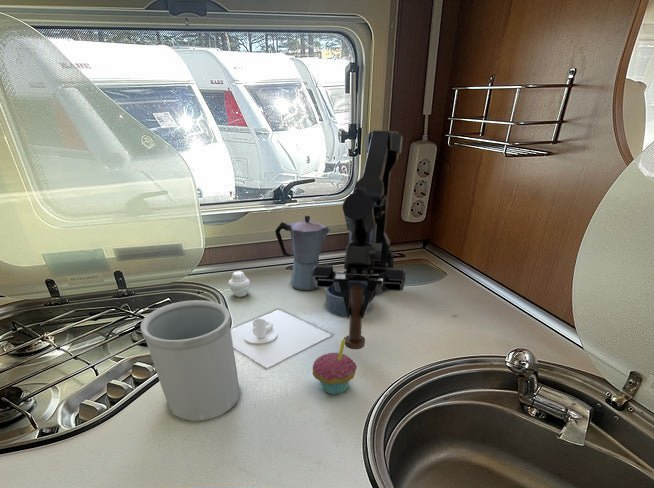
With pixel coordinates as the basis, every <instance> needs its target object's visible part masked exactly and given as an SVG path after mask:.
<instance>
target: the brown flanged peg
mask: <svg viewBox="0 0 654 488" xmlns="http://www.w3.org/2000/svg"><path fill="white" fill-rule="evenodd" d="M362 307H363V287H362V286H359V285H354V286H351V288H350V316H349V318H348V320H349V321H348V323H349V324H348V335H346V336H344V337H345V339H344V340H345V344H344V347H345V348H348V349H350V350H360V349H363V348H364V347H365V345H366V338H365V337H364V335H362V329H363V328H362V327H363V319H362V318H361V315H362Z"/></svg>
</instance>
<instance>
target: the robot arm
mask: <svg viewBox="0 0 654 488" xmlns="http://www.w3.org/2000/svg"><path fill="white" fill-rule="evenodd" d="M403 139H404V137H403V136H402V134H400V133H399V131H390V130H385V129H384V130H382V129H381V130H379V129H376V130H375V129H373V130H372V131H369V133H367V134H366V135H365V149H364V152H365V153H366V159H365V163H364V169H363V173H362V176H361V178H360V179H358V180H357V181H356V182H355V183H354V185H353V189H352V191H351V193H349V195H348V196H347V197H346V198H345V200H344V201H343V203H342V212H343V214H344V215H343V216H344V220H345V224H346V227H347V230H348V240H347V246H346V247H345V256H344V265H343V268H344V270H345V271H343V270H335V271H334V267H333V265H330V264H319V265H316V266H315V267H314V268H313V272H312V278H313V281H314V284H315V286H316V287H318V288H324V289H326V288H330V287H331V286H332V285H334V287H335V291H337V292H340V293H341V296H342V298H343V301H344V304H345V309H346V314H347V316H346V317H347V319H349V317H350V298H349V285H348V284H349V282H363V283H367V287H366V293H365V298H364V302H363V307H362V315H361V318H362V320H363V319H364V318H365V316H366V314H367V313H368V312H367V310H368V308H369V305H370V303H371V304H372V302H373V300H374V299H375V297H376V296H377V295H380V294H382V292H384V291H389V292H392V291H393V292H402V291H404V289H405V283H406V270H405V268H403V267H394V258H395V257H394V256H395V255H394V254H393V250H392V249H391V241H390V238H389V237H388V235H387V233H386V232H387V231H386V230H387V220H388V219H387V217H388V210H389V209H388V208H389V199H390V198H389V197H390V184H391V174H392V171H393V170H394V168H395V166H396V165H397V163H398V161H399V155H400V154H402V151H403V142H404V141H403ZM366 312H367V313H366Z"/></svg>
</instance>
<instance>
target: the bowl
mask: <svg viewBox="0 0 654 488" xmlns="http://www.w3.org/2000/svg"><path fill="white" fill-rule="evenodd" d="M348 285H349V298H350V288H351V286H354V285H359V286H362V287H363V302H364V298H365V293H366V287H367V283H363V282H349V284H348ZM325 308H326V310H327V311H328V312H330V313H331V314H333V315H336V316H341V317H347V314H346V309H345V304H344V301H343V298H342V296H341V293H340V292H337V291H335V287H334V285H332V286H331V287H330V288H325ZM371 308H372V302H371V303H370V305H369V308H368V310H367V312H366V314H367V313H368V312H369V311H370V310H371Z"/></svg>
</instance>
